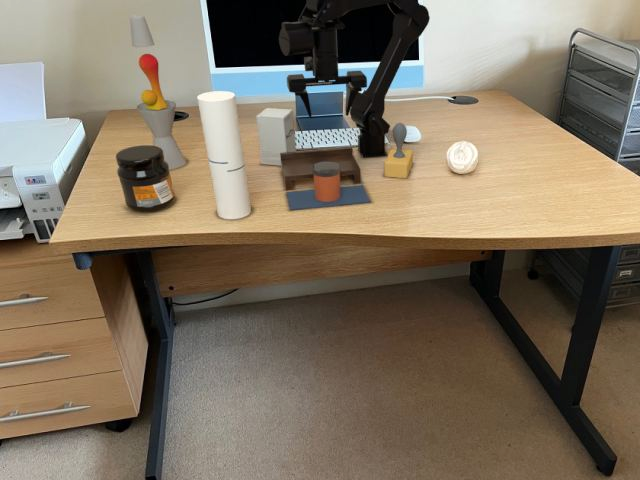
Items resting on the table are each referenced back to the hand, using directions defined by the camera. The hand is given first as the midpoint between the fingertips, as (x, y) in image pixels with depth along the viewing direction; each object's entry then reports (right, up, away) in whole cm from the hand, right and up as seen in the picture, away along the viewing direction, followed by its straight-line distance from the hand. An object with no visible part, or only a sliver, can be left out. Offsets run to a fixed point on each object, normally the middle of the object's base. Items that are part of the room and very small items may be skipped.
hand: (328, 116), depth 144 cm
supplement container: (-38, -24, -14) cm, 47 cm away
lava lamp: (-42, -11, +6) cm, 44 cm away
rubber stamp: (+18, -13, +3) cm, 22 cm away
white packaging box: (-14, -9, +8) cm, 18 cm away
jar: (+1, -22, -11) cm, 24 cm away
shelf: (-2, -15, -2) cm, 16 cm away
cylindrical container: (-19, -26, -17) cm, 36 cm away
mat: (+1, -22, -11) cm, 25 cm away
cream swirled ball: (+33, -14, +2) cm, 36 cm away
